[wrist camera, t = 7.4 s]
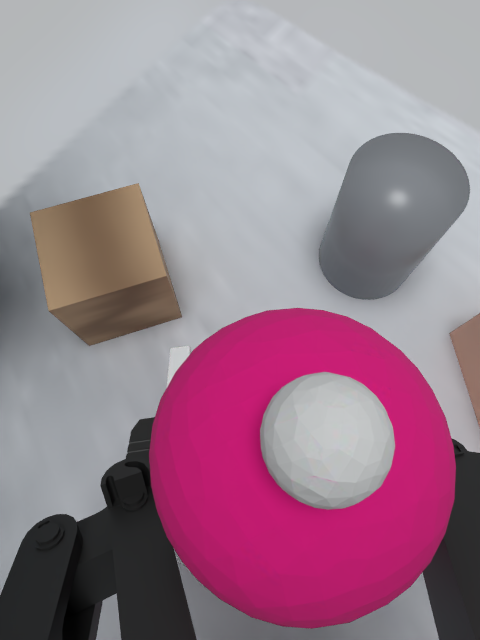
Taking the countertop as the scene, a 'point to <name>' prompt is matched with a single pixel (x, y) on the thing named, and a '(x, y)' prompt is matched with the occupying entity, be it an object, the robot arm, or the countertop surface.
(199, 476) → the pepper mill
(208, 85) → the countertop surface
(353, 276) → the charcoal canister
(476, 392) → the terracotta brick
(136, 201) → the walnut block
